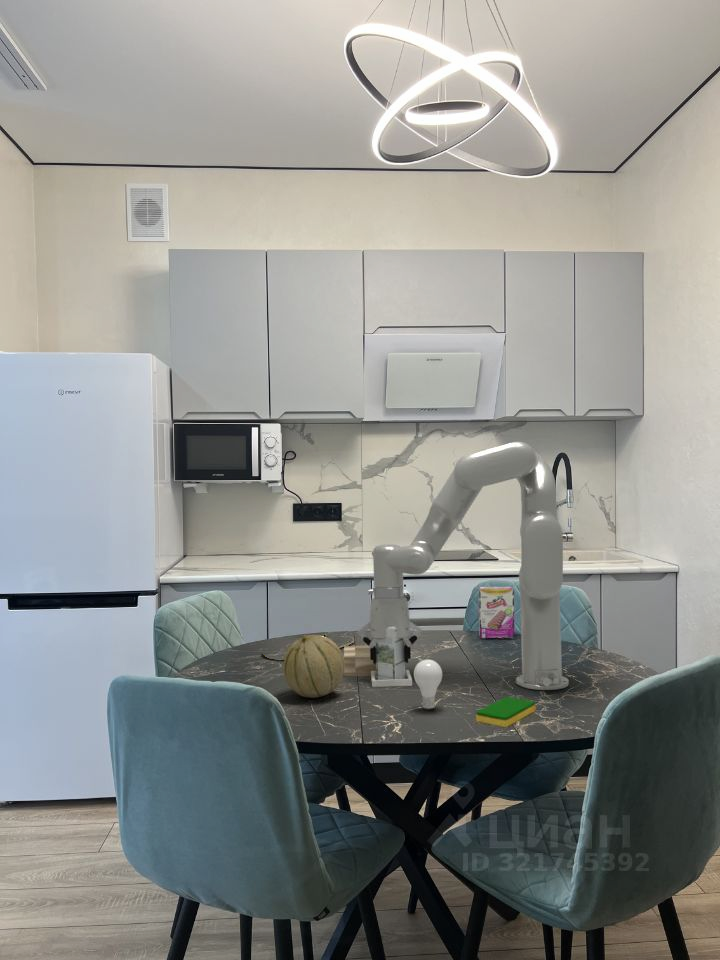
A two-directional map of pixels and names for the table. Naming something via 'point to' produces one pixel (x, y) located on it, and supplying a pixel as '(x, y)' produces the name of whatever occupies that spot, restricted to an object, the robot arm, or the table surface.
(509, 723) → the dish sponge
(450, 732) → the table surface
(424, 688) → the lightbulb
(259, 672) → the table surface
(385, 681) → the stand frame
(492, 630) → the candy bar box
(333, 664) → the cantaloupe
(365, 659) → the block
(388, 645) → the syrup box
